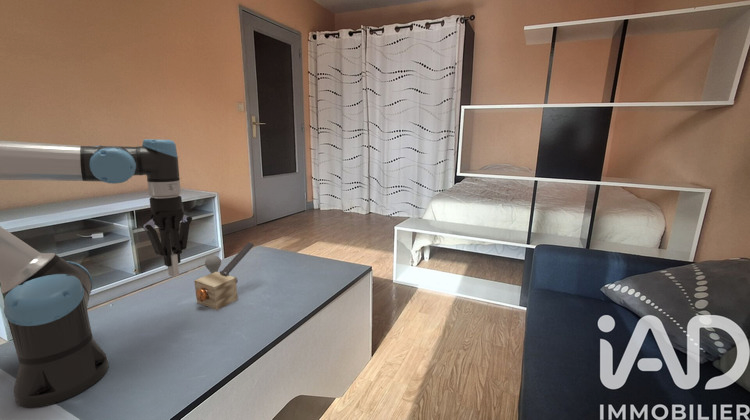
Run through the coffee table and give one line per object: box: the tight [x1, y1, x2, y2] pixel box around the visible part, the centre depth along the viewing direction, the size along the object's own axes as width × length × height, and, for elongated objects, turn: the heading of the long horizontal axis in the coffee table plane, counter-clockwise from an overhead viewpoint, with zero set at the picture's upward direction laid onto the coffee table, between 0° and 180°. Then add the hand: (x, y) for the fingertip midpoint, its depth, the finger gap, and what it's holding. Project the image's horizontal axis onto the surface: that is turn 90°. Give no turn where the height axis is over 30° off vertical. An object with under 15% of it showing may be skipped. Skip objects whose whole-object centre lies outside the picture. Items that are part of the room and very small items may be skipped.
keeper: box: [219, 242, 255, 276], centre depth 113 cm, size 15×3×1 cm
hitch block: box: [193, 271, 238, 311], centre depth 107 cm, size 8×10×8 cm
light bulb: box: [204, 255, 222, 274], centre depth 122 cm, size 5×6×10 cm
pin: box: [195, 276, 238, 302], centre depth 107 cm, size 13×4×4 cm, turn 152°
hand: (174, 275), depth 94 cm, fingers closed
